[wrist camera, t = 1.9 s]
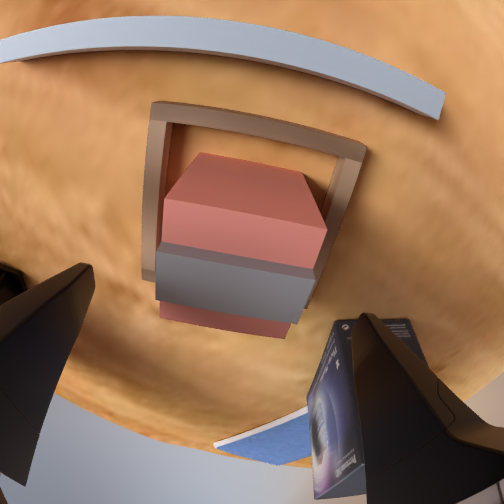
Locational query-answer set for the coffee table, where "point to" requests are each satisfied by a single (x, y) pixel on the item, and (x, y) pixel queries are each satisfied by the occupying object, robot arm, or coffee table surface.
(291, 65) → the door edge rail
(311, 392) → the small box
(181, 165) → the coffee table surface
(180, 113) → the frame
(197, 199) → the block
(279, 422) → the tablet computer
